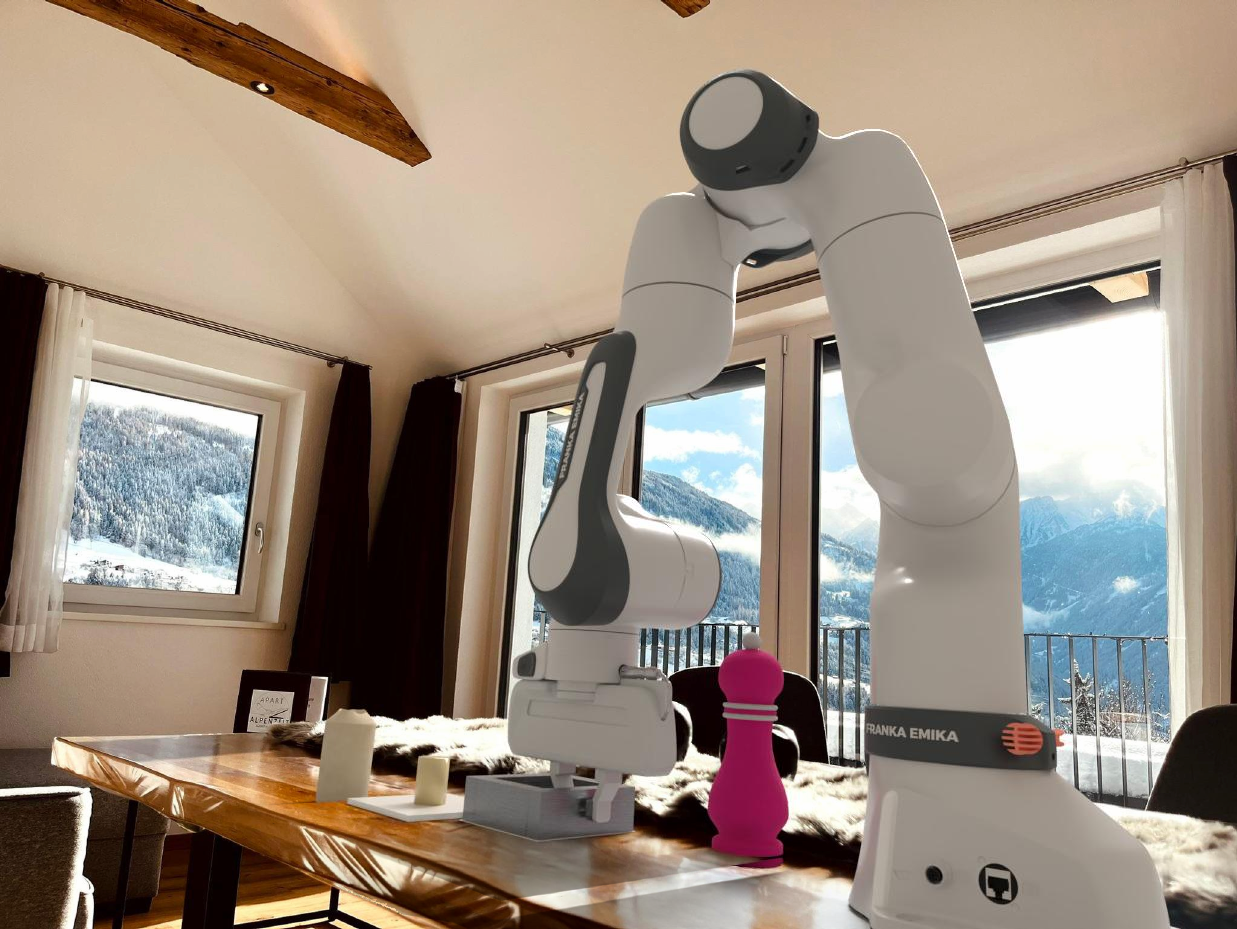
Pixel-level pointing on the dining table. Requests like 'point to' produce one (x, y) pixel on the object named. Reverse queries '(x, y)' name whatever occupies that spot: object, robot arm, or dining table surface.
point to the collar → (542, 806)
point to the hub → (420, 796)
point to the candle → (346, 756)
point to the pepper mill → (749, 759)
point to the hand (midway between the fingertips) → (582, 817)
